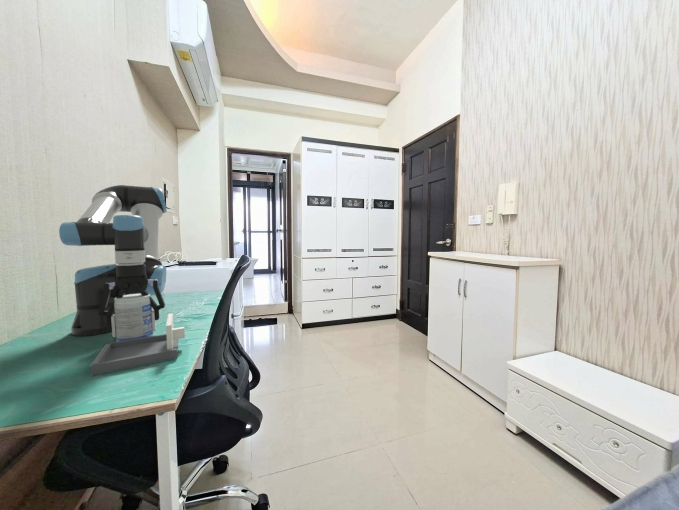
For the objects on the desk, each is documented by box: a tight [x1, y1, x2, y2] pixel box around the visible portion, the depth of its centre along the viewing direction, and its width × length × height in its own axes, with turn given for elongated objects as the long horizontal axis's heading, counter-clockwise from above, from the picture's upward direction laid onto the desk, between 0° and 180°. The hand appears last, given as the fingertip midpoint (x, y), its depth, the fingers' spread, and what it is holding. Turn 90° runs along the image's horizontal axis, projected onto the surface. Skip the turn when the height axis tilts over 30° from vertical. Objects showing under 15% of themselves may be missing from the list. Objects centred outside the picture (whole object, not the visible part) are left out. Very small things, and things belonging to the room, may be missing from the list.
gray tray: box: [89, 333, 179, 377], centre depth 76 cm, size 16×18×2 cm
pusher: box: [165, 313, 186, 350], centre depth 80 cm, size 13×4×8 cm, turn 30°
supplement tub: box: [114, 294, 154, 342], centre depth 86 cm, size 10×10×15 cm
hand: (135, 332), depth 86 cm, fingers closed on supplement tub, 9 cm apart
